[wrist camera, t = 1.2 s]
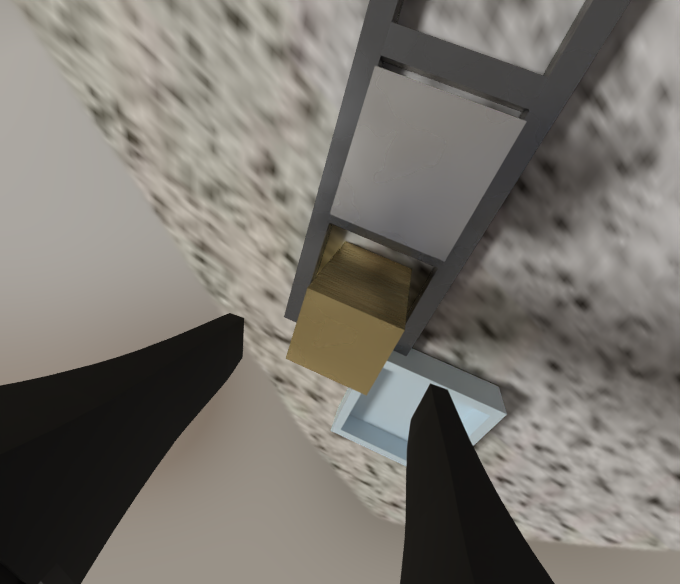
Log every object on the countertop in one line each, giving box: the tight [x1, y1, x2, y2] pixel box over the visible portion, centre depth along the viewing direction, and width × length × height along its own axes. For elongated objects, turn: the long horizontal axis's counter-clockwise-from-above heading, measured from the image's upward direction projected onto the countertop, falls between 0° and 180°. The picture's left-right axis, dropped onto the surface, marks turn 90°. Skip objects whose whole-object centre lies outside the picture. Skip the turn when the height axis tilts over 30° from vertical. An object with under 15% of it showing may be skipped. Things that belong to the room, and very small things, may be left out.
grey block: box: [330, 66, 527, 262], centre depth 11 cm, size 4×4×6 cm
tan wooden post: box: [286, 242, 412, 396], centre depth 14 cm, size 4×4×6 cm
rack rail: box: [284, 0, 631, 356], centre depth 13 cm, size 8×22×1 cm, turn 161°
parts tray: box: [331, 348, 507, 466], centre depth 19 cm, size 8×8×2 cm
